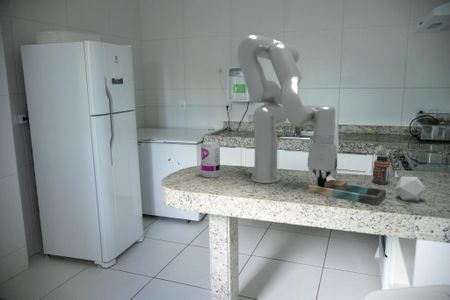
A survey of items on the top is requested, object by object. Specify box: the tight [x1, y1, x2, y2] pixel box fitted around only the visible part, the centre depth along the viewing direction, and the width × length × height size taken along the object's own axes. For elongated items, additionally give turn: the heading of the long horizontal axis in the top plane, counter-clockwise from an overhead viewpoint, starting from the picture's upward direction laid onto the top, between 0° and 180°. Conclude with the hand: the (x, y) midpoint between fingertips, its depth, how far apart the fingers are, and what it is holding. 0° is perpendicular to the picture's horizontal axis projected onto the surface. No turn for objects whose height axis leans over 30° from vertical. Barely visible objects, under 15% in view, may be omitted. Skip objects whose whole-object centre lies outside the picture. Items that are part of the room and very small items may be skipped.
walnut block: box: [324, 179, 348, 192], centre depth 122 cm, size 6×6×4 cm
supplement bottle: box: [371, 154, 391, 185], centre depth 133 cm, size 6×6×11 cm
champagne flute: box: [327, 122, 340, 181], centre depth 136 cm, size 7×7×24 cm
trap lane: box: [308, 180, 387, 206], centre depth 119 cm, size 24×11×2 cm, turn 52°
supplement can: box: [200, 141, 221, 179], centre depth 146 cm, size 8×8×15 cm
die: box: [394, 176, 427, 202], centre depth 113 cm, size 8×9×10 cm
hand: (321, 187), depth 125 cm, fingers closed
